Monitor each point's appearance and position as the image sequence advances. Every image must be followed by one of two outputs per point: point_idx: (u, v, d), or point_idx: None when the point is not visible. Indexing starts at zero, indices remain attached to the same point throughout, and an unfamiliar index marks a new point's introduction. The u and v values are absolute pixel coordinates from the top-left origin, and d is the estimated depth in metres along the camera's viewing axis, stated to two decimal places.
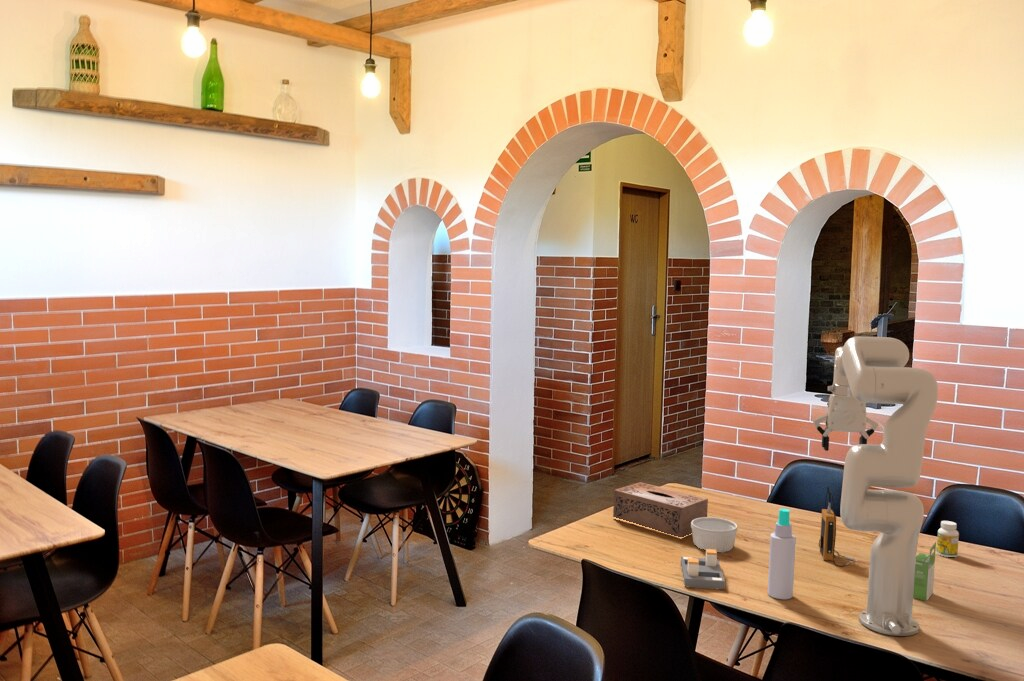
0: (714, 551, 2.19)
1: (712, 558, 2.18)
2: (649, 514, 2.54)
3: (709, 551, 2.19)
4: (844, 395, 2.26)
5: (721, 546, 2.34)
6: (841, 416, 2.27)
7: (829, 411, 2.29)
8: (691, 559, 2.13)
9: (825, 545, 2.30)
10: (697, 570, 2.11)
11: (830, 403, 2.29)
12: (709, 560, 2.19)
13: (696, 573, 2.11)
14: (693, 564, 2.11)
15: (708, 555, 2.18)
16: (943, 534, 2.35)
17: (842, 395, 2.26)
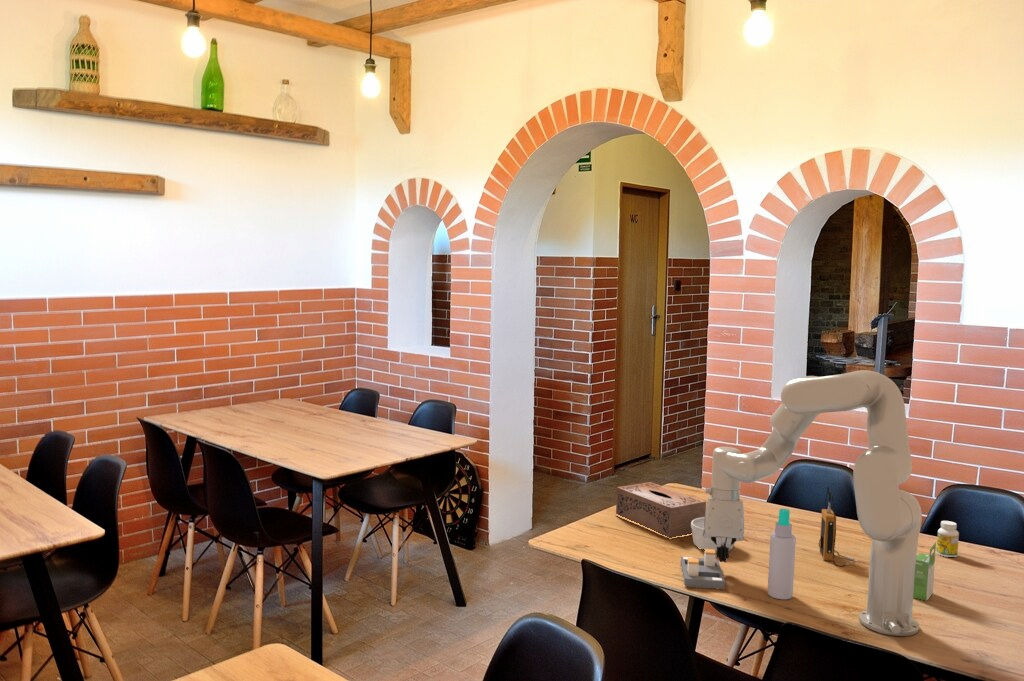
0: (713, 551, 2.19)
1: (710, 557, 2.18)
2: (644, 512, 2.55)
3: (708, 551, 2.19)
4: (720, 500, 2.15)
5: None
6: (717, 521, 2.16)
7: (706, 515, 2.17)
8: (691, 559, 2.13)
9: (825, 545, 2.30)
10: (697, 570, 2.11)
11: (707, 507, 2.17)
12: (707, 560, 2.19)
13: (696, 573, 2.11)
14: (693, 564, 2.11)
15: (707, 555, 2.19)
16: (943, 534, 2.35)
17: (718, 499, 2.15)
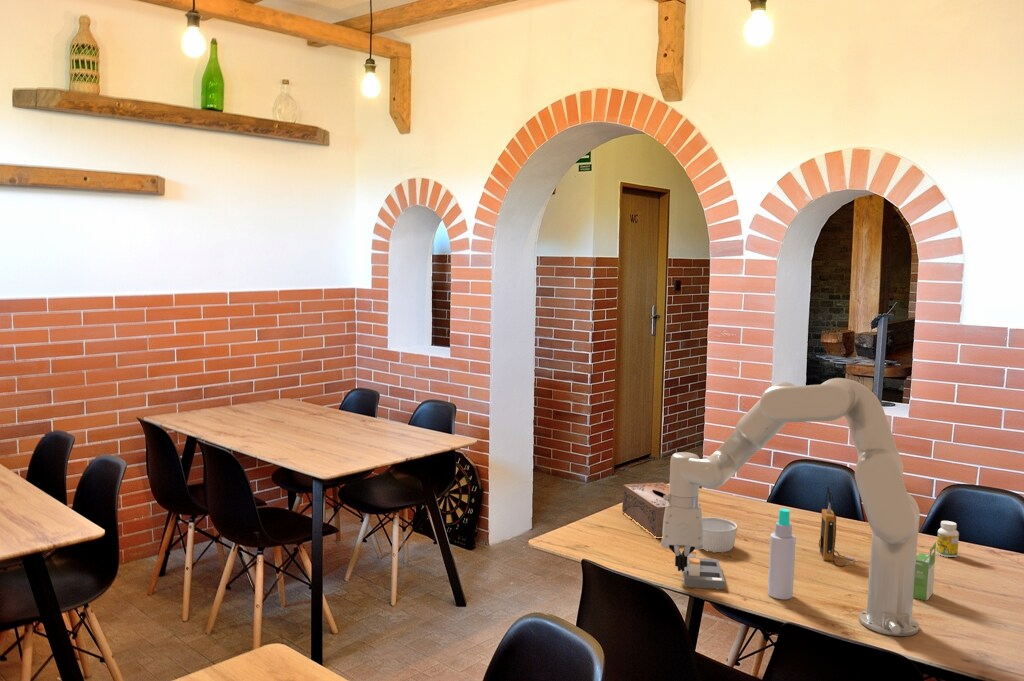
0: None
1: (691, 556, 2.19)
2: (640, 511, 2.57)
3: None
4: (678, 507, 2.08)
5: (721, 546, 2.34)
6: (675, 529, 2.10)
7: (664, 523, 2.11)
8: (692, 559, 2.13)
9: (825, 545, 2.30)
10: (698, 570, 2.11)
11: (665, 514, 2.11)
12: (688, 559, 2.19)
13: (697, 573, 2.11)
14: (694, 565, 2.11)
15: None
16: (944, 534, 2.35)
17: (676, 507, 2.09)
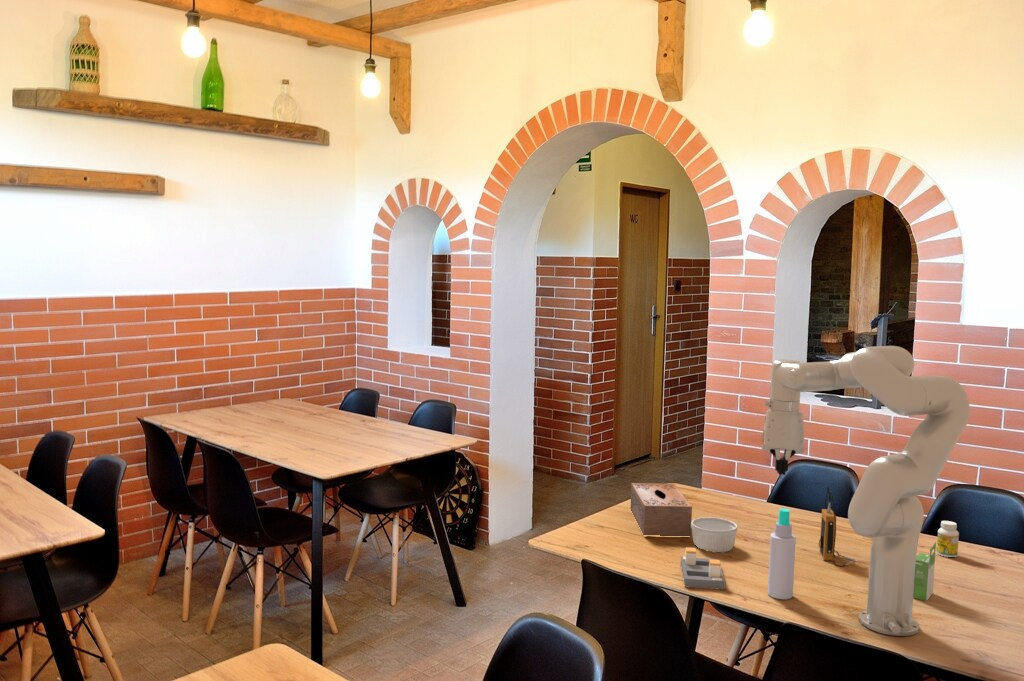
0: (693, 550, 2.20)
1: (691, 556, 2.19)
2: (637, 509, 2.59)
3: (688, 550, 2.20)
4: (780, 411, 2.14)
5: (721, 546, 2.34)
6: (777, 433, 2.16)
7: (765, 427, 2.17)
8: (712, 560, 2.12)
9: (825, 545, 2.30)
10: (719, 572, 2.10)
11: (766, 419, 2.17)
12: (688, 559, 2.19)
13: (718, 575, 2.11)
14: (714, 566, 2.10)
15: (687, 554, 2.19)
16: (944, 534, 2.35)
17: (778, 411, 2.15)
